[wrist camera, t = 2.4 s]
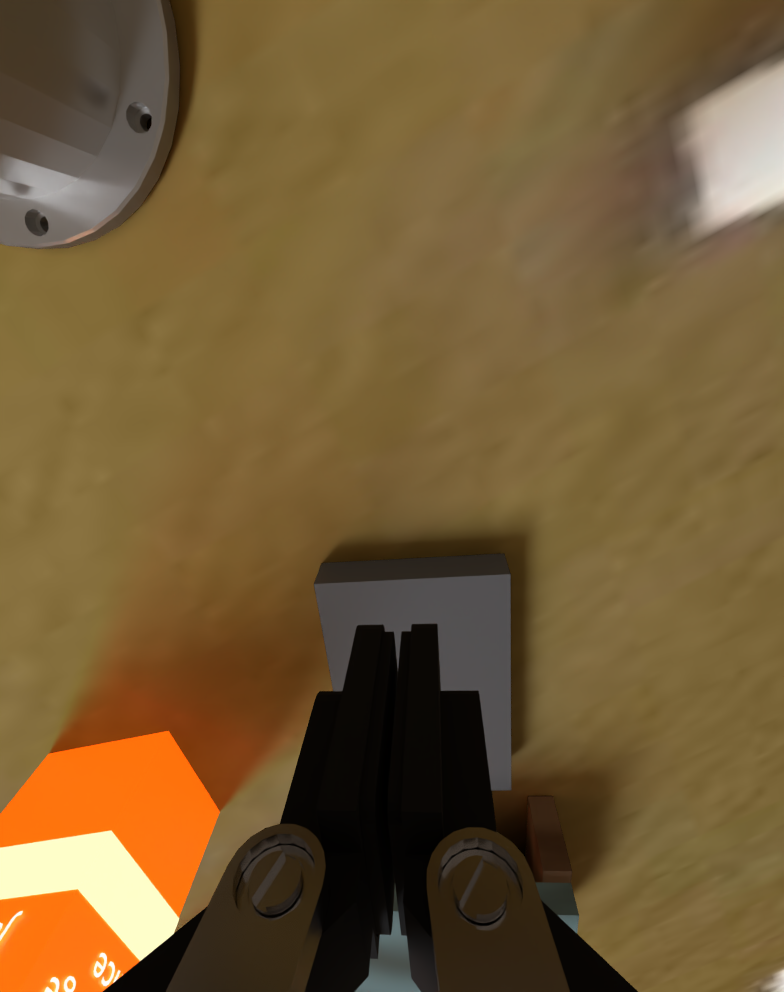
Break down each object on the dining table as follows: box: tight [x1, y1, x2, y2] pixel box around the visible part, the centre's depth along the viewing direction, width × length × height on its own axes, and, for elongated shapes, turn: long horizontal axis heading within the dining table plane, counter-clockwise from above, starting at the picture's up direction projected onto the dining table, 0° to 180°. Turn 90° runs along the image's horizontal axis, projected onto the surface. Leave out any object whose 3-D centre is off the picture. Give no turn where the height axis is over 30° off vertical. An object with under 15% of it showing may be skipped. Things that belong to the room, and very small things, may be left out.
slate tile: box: [314, 554, 511, 790], centre depth 26 cm, size 14×9×2 cm, turn 5°
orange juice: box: [0, 731, 220, 992], centre depth 23 cm, size 8×9×20 cm
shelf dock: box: [355, 796, 579, 992], centre depth 30 cm, size 12×15×6 cm
